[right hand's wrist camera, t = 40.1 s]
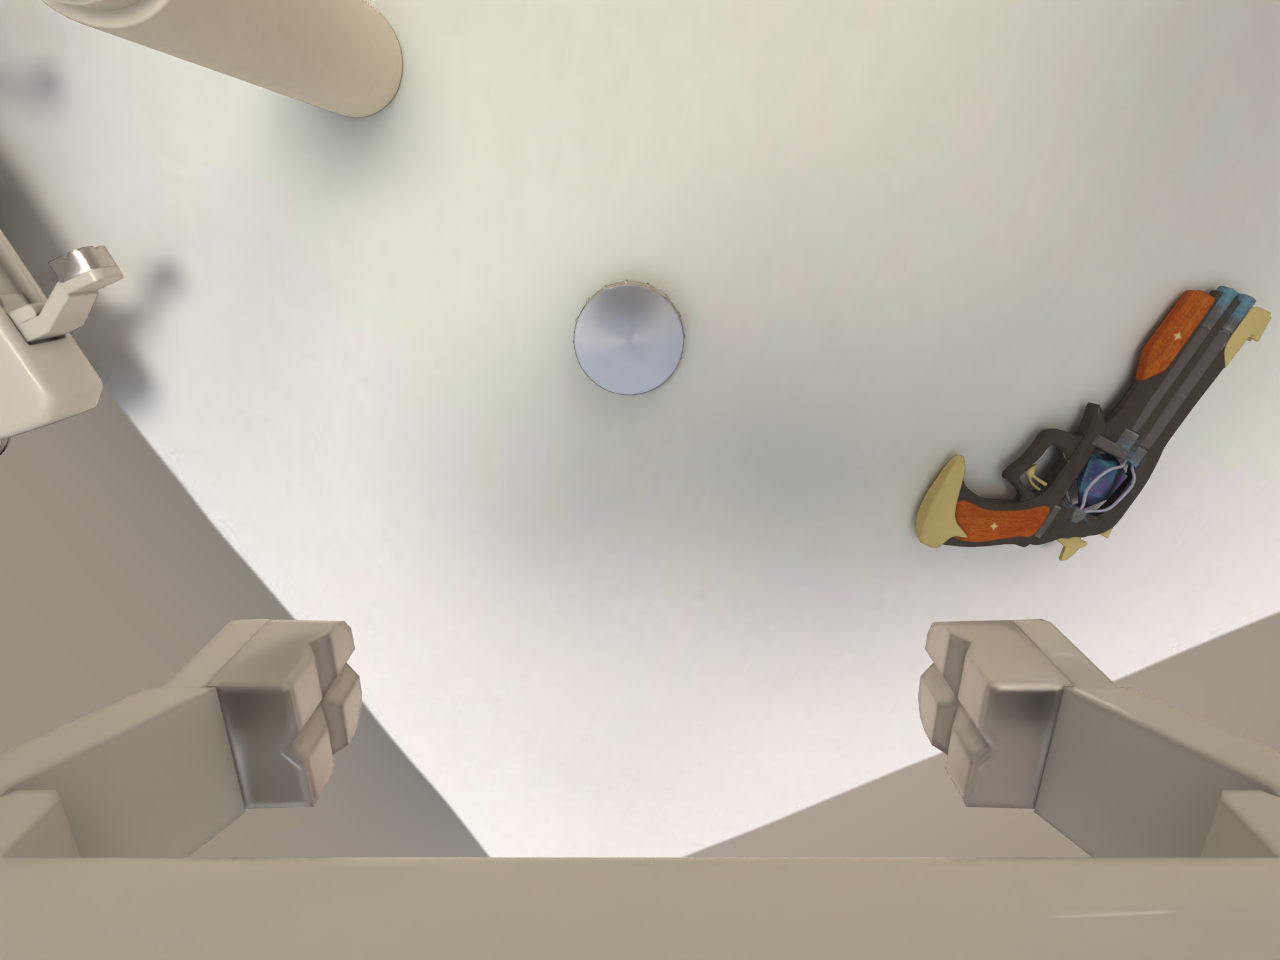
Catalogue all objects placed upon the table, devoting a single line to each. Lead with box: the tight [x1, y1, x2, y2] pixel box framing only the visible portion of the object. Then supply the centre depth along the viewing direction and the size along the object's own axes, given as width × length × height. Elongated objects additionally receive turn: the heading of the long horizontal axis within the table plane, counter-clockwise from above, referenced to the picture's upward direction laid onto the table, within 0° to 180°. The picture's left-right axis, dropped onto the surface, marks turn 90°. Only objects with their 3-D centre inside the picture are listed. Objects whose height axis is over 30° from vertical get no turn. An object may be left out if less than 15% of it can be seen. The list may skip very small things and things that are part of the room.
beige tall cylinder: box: [42, 0, 402, 117], centre depth 25 cm, size 5×5×19 cm
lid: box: [573, 280, 685, 395], centre depth 37 cm, size 6×6×2 cm
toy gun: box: [915, 286, 1271, 561], centre depth 39 cm, size 3×19×10 cm
